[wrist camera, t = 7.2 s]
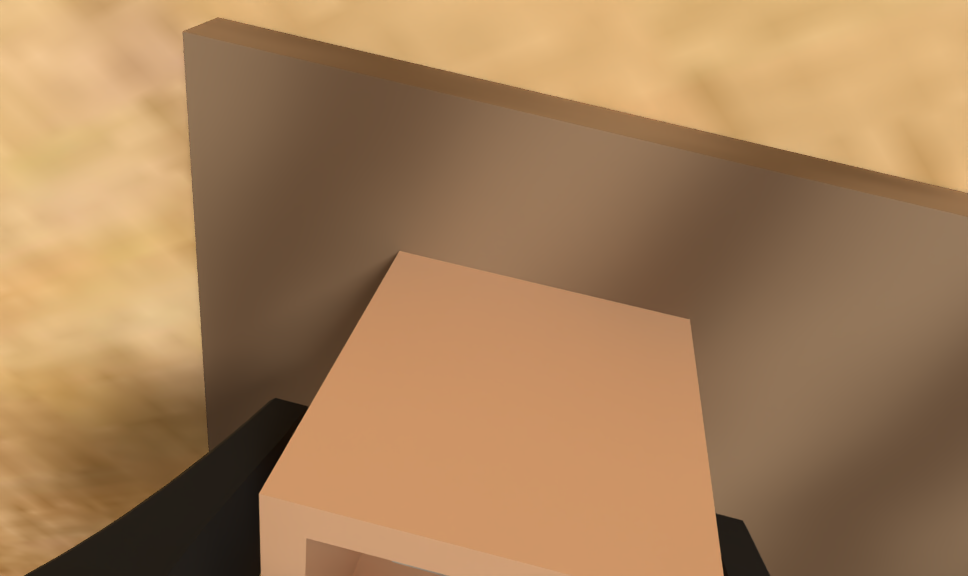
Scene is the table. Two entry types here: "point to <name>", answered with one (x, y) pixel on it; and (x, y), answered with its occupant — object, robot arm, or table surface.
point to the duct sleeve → (497, 439)
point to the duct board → (601, 274)
